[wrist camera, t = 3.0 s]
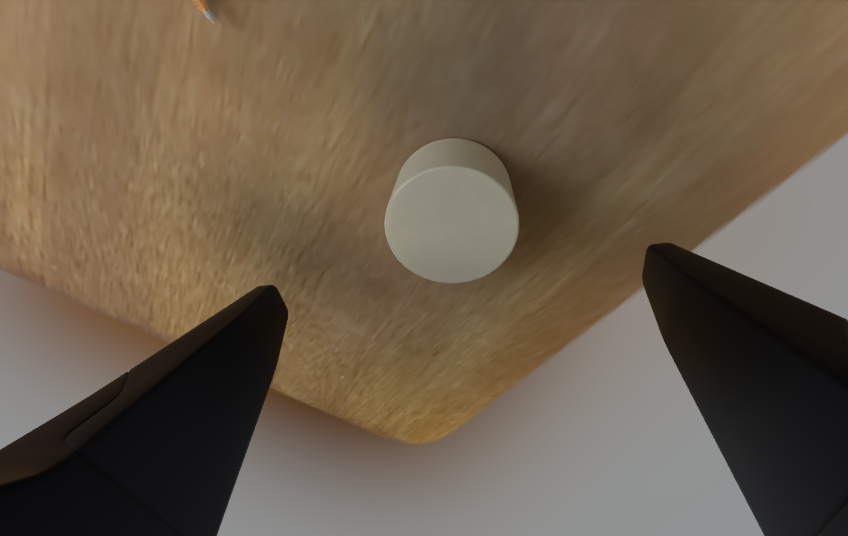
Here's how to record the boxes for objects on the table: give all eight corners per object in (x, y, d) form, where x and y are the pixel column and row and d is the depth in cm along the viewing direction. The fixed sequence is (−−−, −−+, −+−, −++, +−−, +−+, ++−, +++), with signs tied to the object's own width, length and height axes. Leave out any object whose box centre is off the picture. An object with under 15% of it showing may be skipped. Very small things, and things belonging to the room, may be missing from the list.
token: (507, 127, 12) (516, 155, 10) (514, 237, 14) (522, 278, 12) (383, 147, 13) (368, 177, 11) (408, 249, 15) (400, 289, 13)
